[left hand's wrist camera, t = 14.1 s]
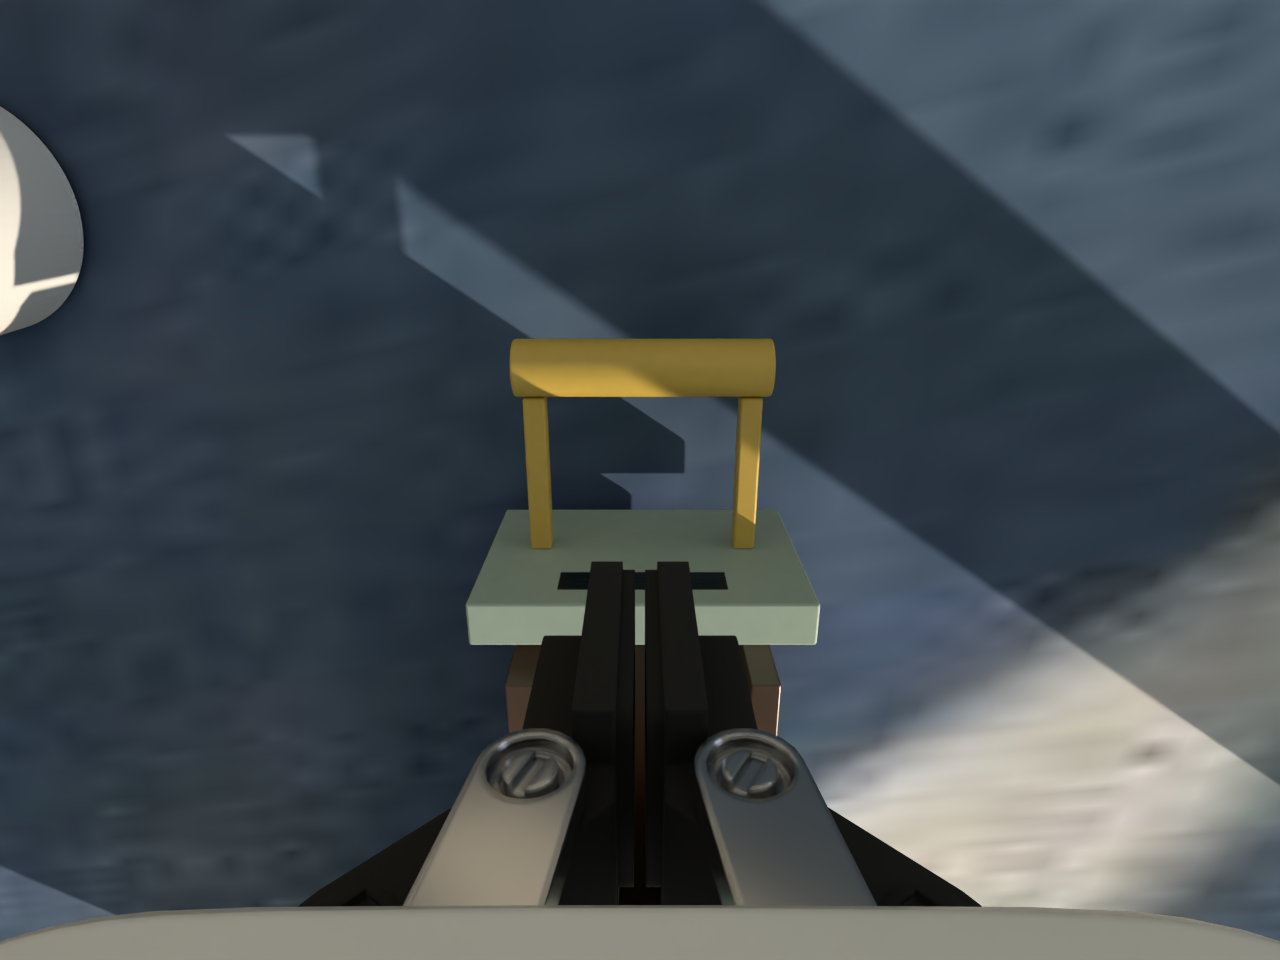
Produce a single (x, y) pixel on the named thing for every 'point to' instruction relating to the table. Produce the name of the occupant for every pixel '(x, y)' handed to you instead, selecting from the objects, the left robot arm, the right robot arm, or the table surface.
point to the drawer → (643, 533)
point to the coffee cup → (34, 229)
